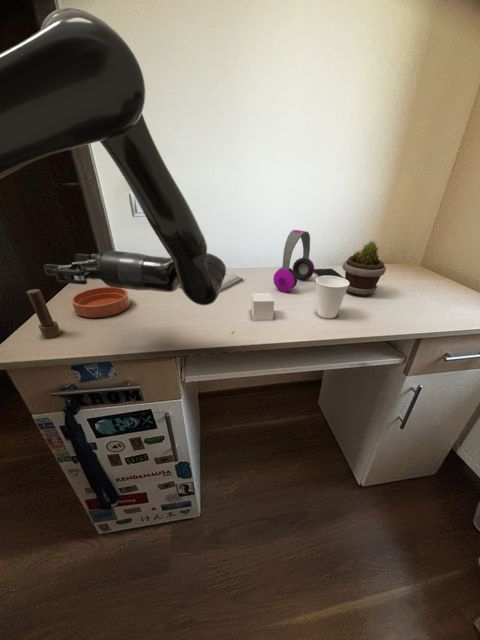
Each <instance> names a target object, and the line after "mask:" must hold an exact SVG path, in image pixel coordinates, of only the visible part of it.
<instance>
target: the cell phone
mask: <svg viewBox="0 0 480 640" xmlns="http://www.w3.org/2000/svg"><path fill="white" fill-rule="evenodd" d="M313 273H315V274H316V275H318V277H320V276H337V277H341V278H344V279H345V276H343V275H341V274H340V273H339V272H337V271H336V270H334V269H333V268H314V272H313Z"/></svg>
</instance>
